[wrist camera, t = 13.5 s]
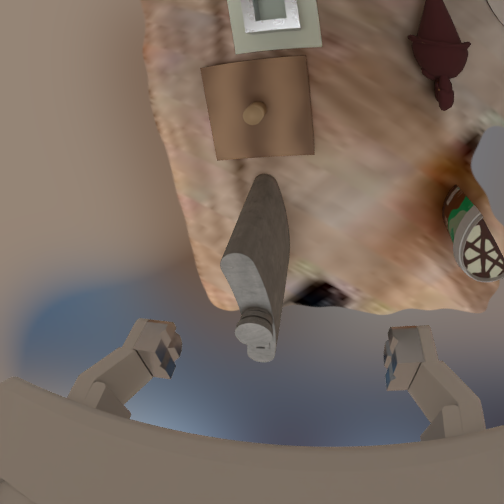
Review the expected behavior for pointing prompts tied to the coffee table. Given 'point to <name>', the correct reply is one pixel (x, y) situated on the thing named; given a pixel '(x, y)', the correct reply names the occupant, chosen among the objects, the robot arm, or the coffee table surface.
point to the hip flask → (259, 267)
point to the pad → (275, 9)
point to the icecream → (439, 50)
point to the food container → (471, 239)
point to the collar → (274, 25)
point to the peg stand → (259, 108)
